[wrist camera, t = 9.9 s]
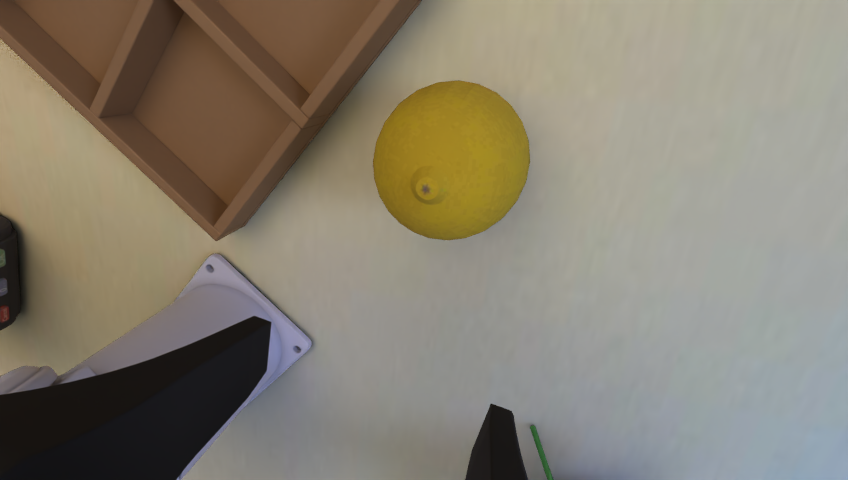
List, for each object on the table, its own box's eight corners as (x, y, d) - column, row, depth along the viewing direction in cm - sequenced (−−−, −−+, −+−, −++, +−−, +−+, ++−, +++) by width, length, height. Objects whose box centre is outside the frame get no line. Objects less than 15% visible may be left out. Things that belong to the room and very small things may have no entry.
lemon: (420, 66, 19) (344, 71, 12) (547, 89, 18) (548, 109, 11) (403, 186, 21) (332, 251, 14) (516, 212, 20) (499, 295, 13)
